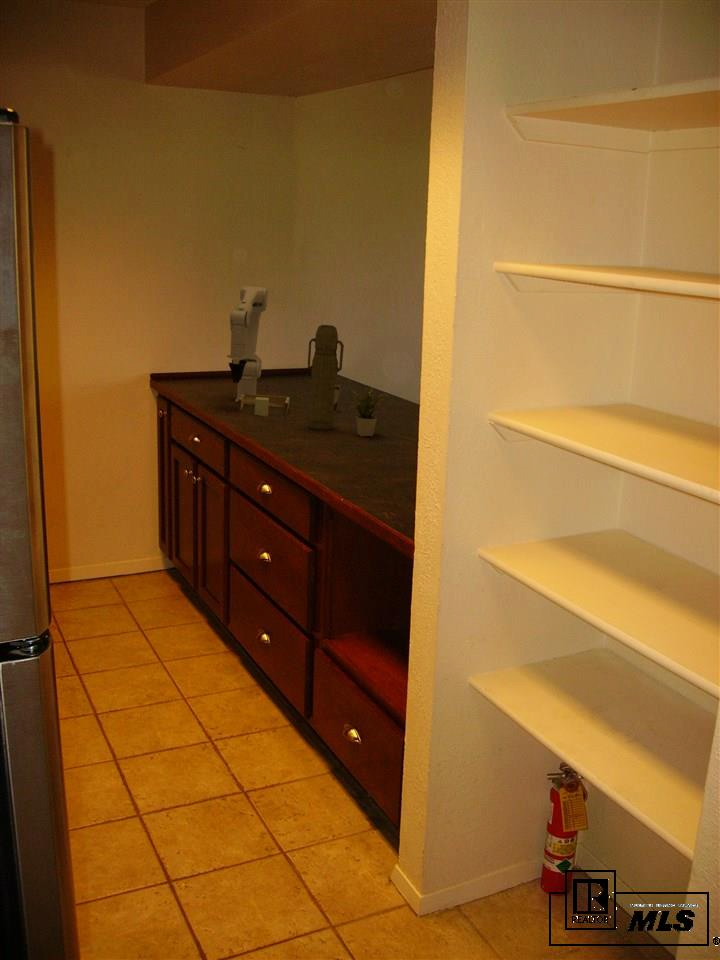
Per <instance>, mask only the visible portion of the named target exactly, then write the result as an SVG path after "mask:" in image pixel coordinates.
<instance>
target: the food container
mask: <svg viewBox="0 0 720 960" xmlns="http://www.w3.org/2000/svg"><path fill="white" fill-rule="evenodd" d="M340 392H341V384H335V395H334V411H337V412H338V408H339V406H338V404H339V399H340Z"/></svg>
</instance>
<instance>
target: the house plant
mask: <svg viewBox="0 0 720 960" xmlns="http://www.w3.org/2000/svg"><path fill="white" fill-rule="evenodd" d="M364 388H365V389H364V390H365V392H366V393H365V395H364V396H362V397H360V395H359V393H357V392H356V390H355V391H354V390H352V392H353V393H354V395H355V396H354V398H355V399H356V401H357V405H352V406H350V408H352V407H353V408H355V409H356V410H357V411H358V413H359V415H356V416H355V417H356V428H357V429H356V431H357V435H358V436H359V435H360V437H364V436H371V437H373V436H374V432H375V430H376V429H375V428H376V425H377V420H378V417H377V416H374V415H372V414H373V413H374V411H376V410H378V409H379V410H384V409H385V408H388V407H385V406H384V407H379V405H380V403H378V402H379V401H380V400H381V401H382V400H383V398H382V397H384V396H386V395H387V392H384V393H381V394H379V395H378V396H377V397H375V398H374V399H373V397H374V395H373V394H374V393H373V391H374V390H373V387H371V389H370V391H368V390H367V388H366V387H364Z"/></svg>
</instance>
